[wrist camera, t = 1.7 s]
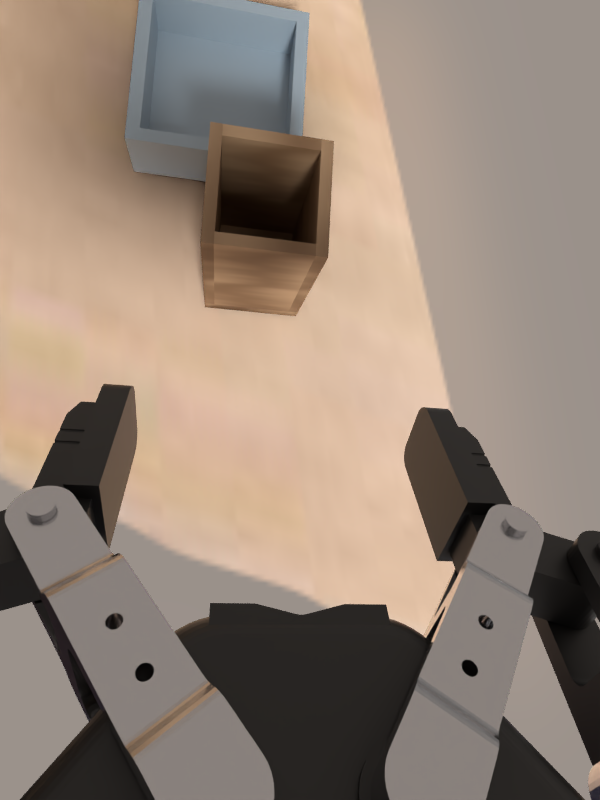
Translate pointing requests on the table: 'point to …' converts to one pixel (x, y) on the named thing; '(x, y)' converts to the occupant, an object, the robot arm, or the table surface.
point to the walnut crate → (264, 218)
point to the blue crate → (211, 78)
